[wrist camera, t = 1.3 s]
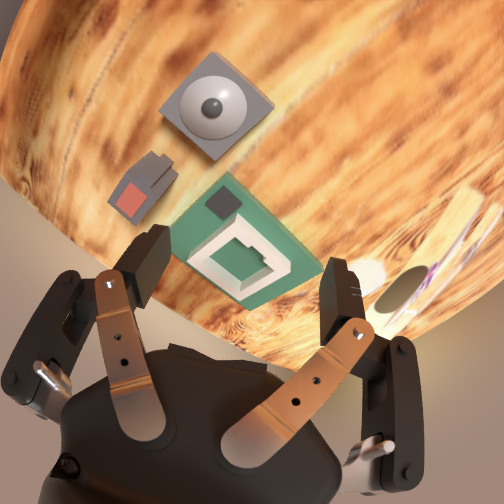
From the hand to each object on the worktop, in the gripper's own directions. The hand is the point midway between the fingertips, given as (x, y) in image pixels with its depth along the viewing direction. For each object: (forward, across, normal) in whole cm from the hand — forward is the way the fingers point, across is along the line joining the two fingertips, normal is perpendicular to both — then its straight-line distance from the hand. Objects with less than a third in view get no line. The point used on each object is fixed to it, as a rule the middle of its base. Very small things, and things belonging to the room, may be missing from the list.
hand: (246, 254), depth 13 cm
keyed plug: (+17, +14, +5) cm, 23 cm away
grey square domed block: (+18, +6, -4) cm, 19 cm away
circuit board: (+18, +2, +15) cm, 23 cm away
